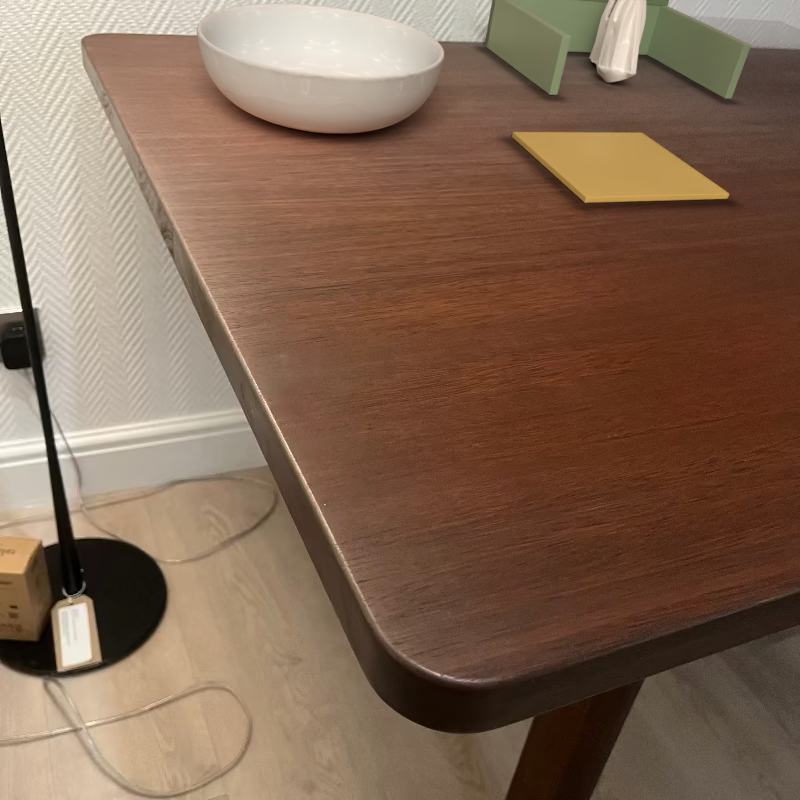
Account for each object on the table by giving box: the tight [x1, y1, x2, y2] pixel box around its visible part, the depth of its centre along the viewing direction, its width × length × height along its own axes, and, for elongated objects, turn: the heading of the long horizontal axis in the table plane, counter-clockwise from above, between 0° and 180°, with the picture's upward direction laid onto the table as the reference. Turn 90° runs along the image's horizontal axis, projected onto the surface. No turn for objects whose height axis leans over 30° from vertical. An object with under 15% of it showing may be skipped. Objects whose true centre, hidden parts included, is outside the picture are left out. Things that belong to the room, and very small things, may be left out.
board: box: [511, 131, 730, 204], centre depth 71 cm, size 14×14×1 cm
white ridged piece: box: [588, 0, 646, 83], centre depth 93 cm, size 12×4×11 cm, turn 173°
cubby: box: [483, 0, 752, 100], centre depth 95 cm, size 24×18×7 cm
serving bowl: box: [196, 2, 445, 134], centre depth 71 cm, size 21×21×7 cm
